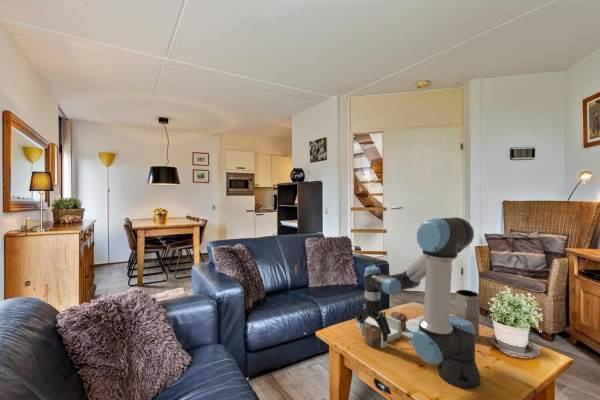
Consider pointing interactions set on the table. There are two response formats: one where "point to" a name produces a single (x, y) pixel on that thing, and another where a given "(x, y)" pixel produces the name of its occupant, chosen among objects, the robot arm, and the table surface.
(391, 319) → the board
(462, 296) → the planter
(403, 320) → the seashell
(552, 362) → the table surface
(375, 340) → the brown block
